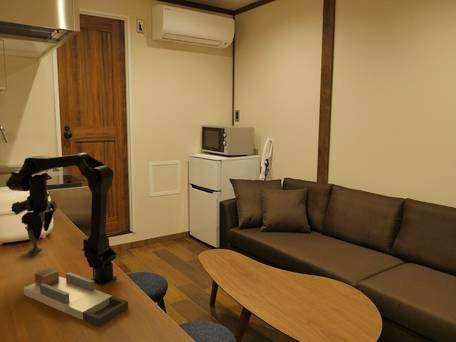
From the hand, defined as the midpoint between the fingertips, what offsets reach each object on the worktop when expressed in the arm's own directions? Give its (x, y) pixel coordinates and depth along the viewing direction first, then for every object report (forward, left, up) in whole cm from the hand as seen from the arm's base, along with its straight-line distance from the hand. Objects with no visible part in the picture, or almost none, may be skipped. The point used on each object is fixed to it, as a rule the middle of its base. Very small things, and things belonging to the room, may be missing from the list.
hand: (42, 235), depth 138 cm
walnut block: (-14, +9, -11) cm, 20 cm away
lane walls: (-24, +9, -11) cm, 28 cm away
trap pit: (-41, +9, -14) cm, 44 cm away
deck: (-23, +9, -14) cm, 28 cm away
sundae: (+21, -10, -14) cm, 27 cm away
